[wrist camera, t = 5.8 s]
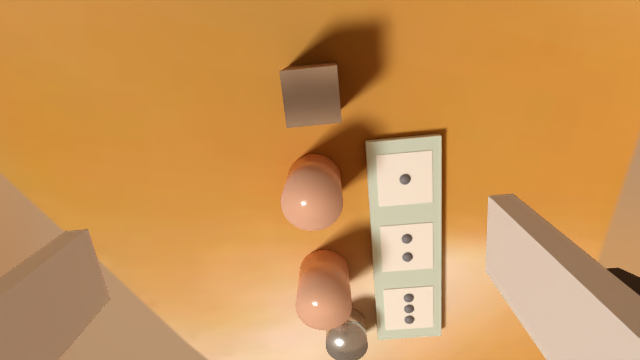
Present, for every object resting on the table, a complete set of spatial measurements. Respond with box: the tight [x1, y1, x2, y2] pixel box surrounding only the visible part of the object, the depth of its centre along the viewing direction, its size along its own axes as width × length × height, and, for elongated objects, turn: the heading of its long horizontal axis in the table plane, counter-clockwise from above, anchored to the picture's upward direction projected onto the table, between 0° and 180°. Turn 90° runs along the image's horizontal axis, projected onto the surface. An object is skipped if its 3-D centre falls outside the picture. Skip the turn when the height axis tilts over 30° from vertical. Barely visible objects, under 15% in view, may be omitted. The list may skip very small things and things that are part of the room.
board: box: [365, 134, 442, 340], centre depth 46 cm, size 26×8×1 cm, turn 6°
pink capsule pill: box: [296, 250, 352, 330], centre depth 45 cm, size 6×6×7 cm
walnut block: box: [280, 62, 342, 128], centre depth 38 cm, size 5×5×7 cm
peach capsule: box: [281, 154, 343, 231], centre depth 41 cm, size 6×6×7 cm
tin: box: [326, 308, 368, 360], centre depth 49 cm, size 5×5×4 cm
